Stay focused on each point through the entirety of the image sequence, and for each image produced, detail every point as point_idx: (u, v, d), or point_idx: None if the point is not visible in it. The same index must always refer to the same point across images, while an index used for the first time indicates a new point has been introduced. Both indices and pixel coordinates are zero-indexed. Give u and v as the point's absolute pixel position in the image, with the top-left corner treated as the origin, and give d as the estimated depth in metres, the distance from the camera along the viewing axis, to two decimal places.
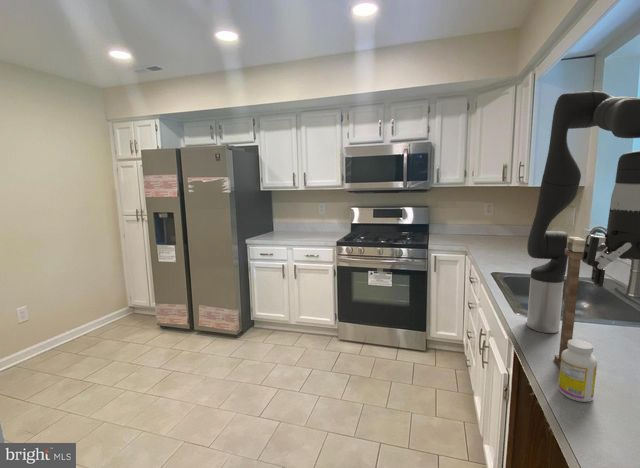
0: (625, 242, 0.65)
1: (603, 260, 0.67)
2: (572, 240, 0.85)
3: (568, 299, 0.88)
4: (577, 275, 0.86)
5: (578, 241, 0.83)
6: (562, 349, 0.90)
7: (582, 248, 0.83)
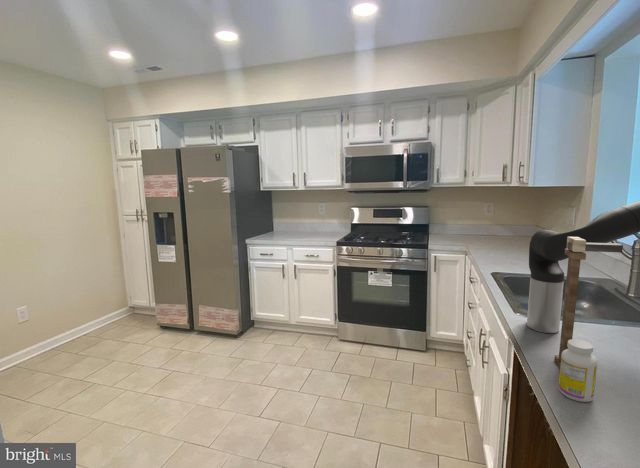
0: None
1: None
2: (572, 240, 0.85)
3: (568, 299, 0.88)
4: (577, 275, 0.86)
5: (578, 241, 0.83)
6: (562, 349, 0.90)
7: (582, 248, 0.83)
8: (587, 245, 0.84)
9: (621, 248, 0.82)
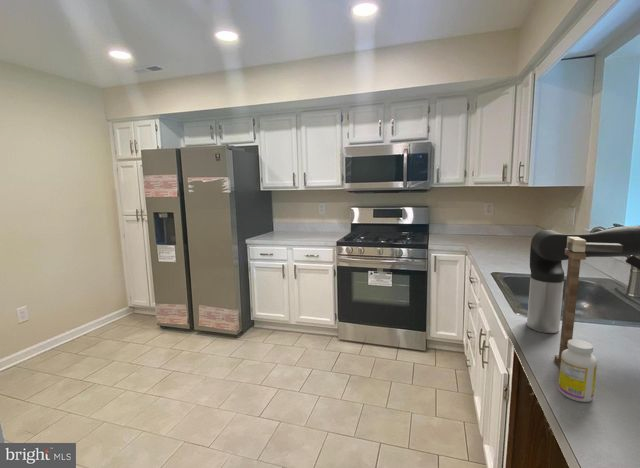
0: None
1: None
2: (572, 240, 0.85)
3: (568, 299, 0.88)
4: (577, 275, 0.86)
5: (578, 241, 0.83)
6: (562, 349, 0.90)
7: (582, 248, 0.83)
8: (587, 245, 0.84)
9: (621, 248, 0.82)
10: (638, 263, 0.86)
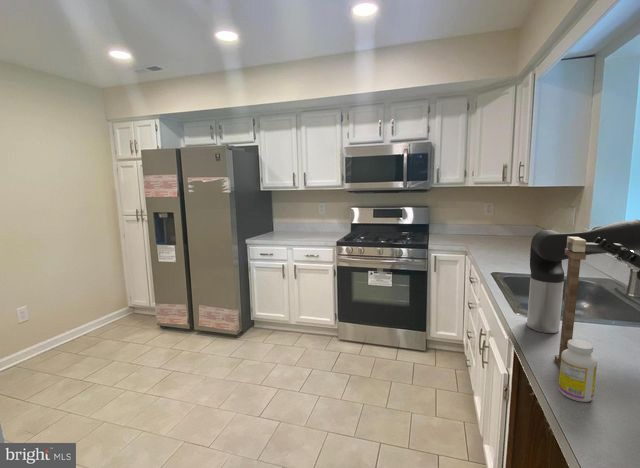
0: (639, 270, 0.81)
1: (622, 259, 0.81)
2: (572, 240, 0.85)
3: (568, 299, 0.88)
4: (577, 275, 0.86)
5: (578, 241, 0.83)
6: (562, 349, 0.90)
7: (582, 248, 0.83)
8: (587, 245, 0.84)
9: None
10: None
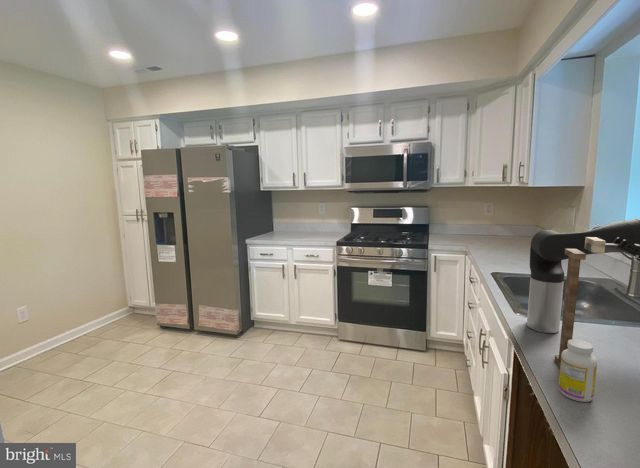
0: None
1: None
2: (591, 241, 0.84)
3: (568, 299, 0.88)
4: (577, 275, 0.86)
5: (597, 242, 0.82)
6: (562, 349, 0.90)
7: (601, 249, 0.82)
8: (606, 246, 0.83)
9: None
10: None
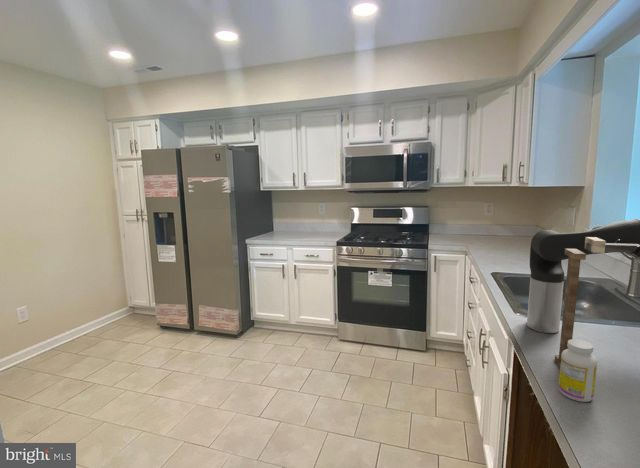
0: None
1: None
2: (591, 241, 0.84)
3: (568, 299, 0.88)
4: (577, 275, 0.86)
5: (597, 242, 0.82)
6: (562, 349, 0.90)
7: (601, 249, 0.82)
8: (606, 246, 0.83)
9: None
10: None
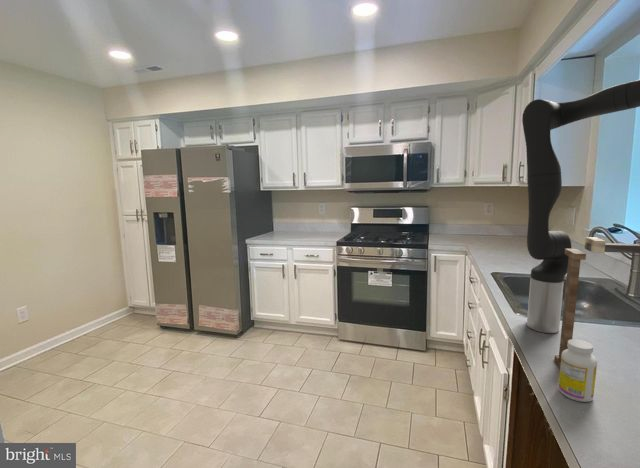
0: None
1: None
2: (591, 241, 0.84)
3: (568, 299, 0.88)
4: (577, 275, 0.86)
5: (597, 242, 0.82)
6: (562, 349, 0.90)
7: (601, 249, 0.82)
8: (606, 246, 0.83)
9: None
10: None
